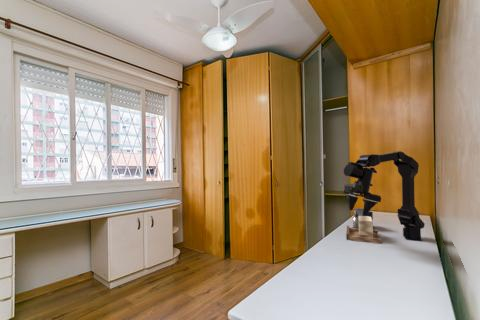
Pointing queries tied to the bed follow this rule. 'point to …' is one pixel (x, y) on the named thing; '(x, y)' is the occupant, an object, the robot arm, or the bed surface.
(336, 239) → the bed surface
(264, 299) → the bed surface
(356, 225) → the flanged metal cylinder
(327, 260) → the bed surface
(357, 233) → the bay
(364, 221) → the pale wooden box
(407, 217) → the robot arm
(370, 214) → the small box
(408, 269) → the bed surface
